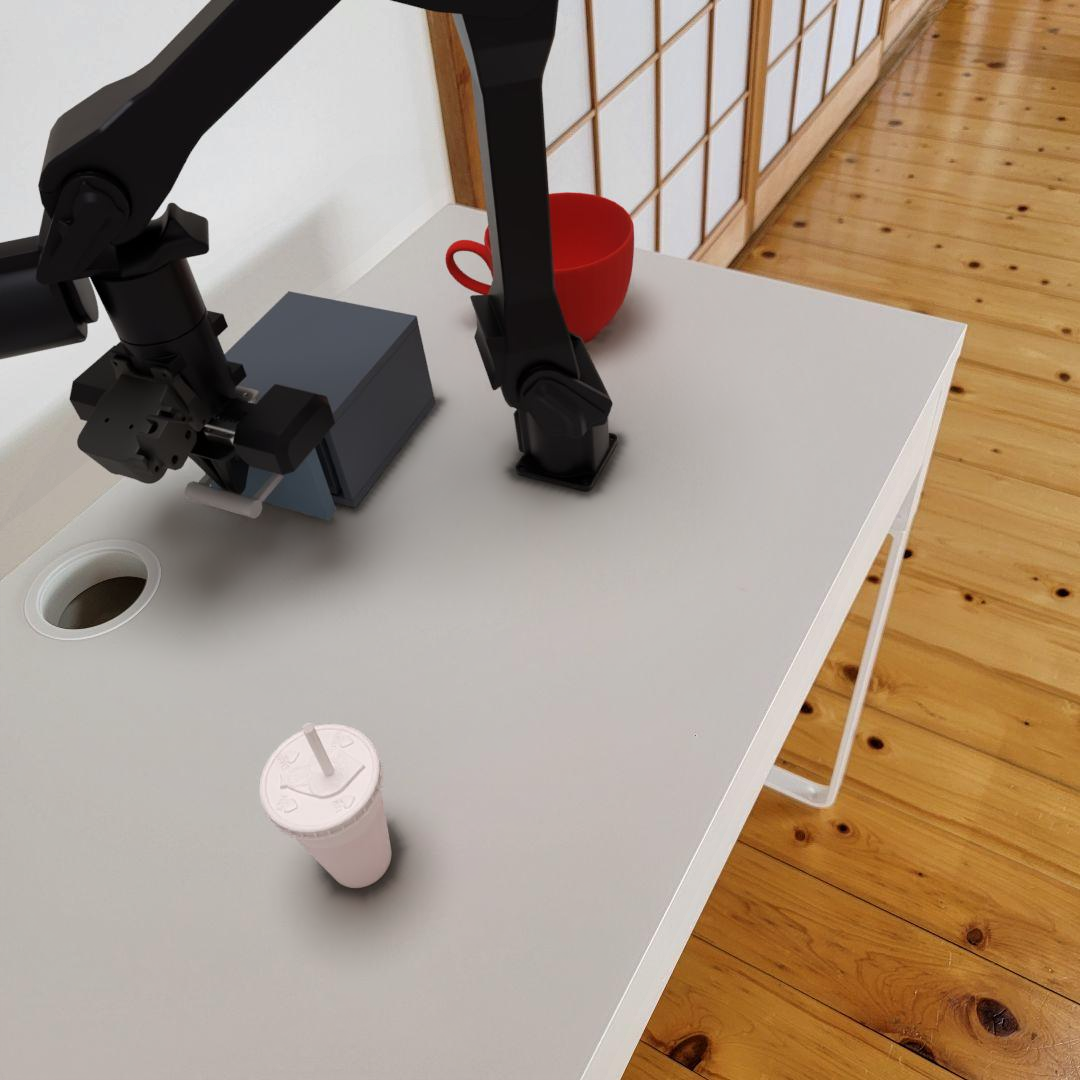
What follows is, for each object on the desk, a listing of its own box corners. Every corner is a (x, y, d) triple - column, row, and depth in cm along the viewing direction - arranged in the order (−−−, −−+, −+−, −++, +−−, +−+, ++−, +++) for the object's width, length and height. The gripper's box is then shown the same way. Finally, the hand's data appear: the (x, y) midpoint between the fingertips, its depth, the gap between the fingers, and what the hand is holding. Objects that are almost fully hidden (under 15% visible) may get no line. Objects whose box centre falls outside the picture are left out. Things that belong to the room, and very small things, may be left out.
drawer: (296, 562, 74) (268, 492, 69) (176, 525, 78) (141, 457, 73) (407, 420, 84) (390, 349, 79) (296, 394, 88) (272, 325, 83)
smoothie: (417, 899, 57) (363, 775, 46) (305, 920, 56) (226, 800, 46) (410, 799, 61) (359, 665, 51) (306, 818, 61) (234, 687, 51)
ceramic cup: (470, 287, 99) (454, 193, 92) (641, 287, 96) (639, 190, 89) (444, 368, 90) (424, 272, 83) (631, 370, 87) (627, 271, 80)
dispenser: (355, 508, 79) (327, 420, 72) (228, 473, 83) (190, 387, 77) (436, 403, 87) (417, 315, 80) (316, 376, 91) (288, 290, 85)
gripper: (-38, 365, 62) (71, 536, 73) (199, 428, 56) (277, 604, 67) (84, 270, 69) (166, 440, 80) (308, 317, 62) (363, 494, 74)
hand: (237, 492), depth 75 cm, fingers closed
